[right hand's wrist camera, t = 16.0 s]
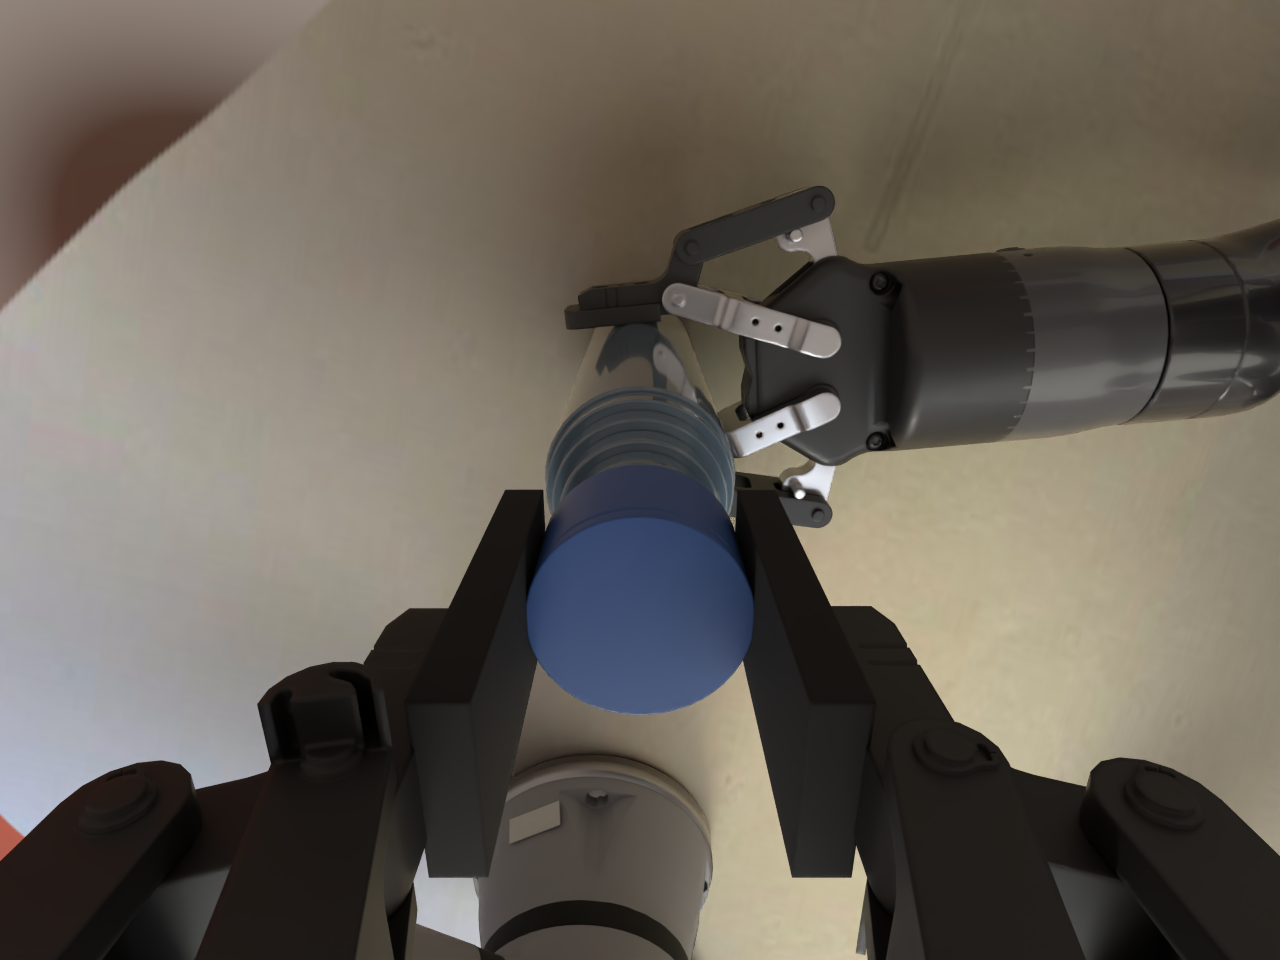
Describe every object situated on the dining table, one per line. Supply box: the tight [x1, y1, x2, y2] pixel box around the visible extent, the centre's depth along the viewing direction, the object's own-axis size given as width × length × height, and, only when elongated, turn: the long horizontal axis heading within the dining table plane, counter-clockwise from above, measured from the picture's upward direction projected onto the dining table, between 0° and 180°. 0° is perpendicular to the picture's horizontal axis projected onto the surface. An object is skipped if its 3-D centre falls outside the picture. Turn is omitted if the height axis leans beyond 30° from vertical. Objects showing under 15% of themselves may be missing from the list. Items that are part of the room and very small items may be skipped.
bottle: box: [545, 314, 735, 516], centre depth 24 cm, size 5×5×24 cm
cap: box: [526, 465, 754, 715], centre depth 13 cm, size 4×4×2 cm
